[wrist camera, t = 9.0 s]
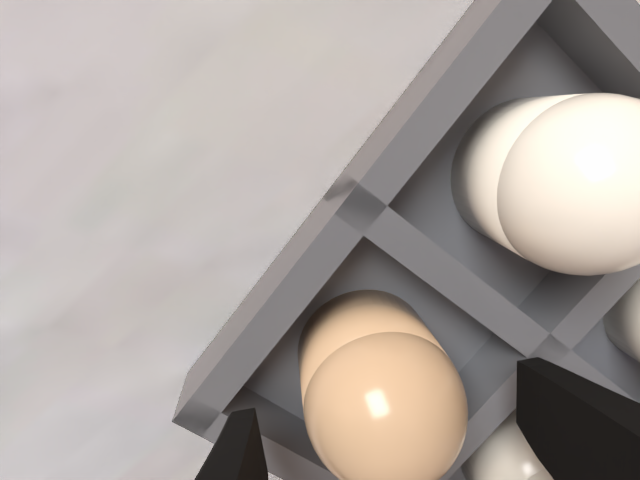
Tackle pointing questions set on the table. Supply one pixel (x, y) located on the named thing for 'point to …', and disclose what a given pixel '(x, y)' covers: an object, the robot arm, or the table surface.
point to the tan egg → (379, 390)
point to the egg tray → (434, 240)
